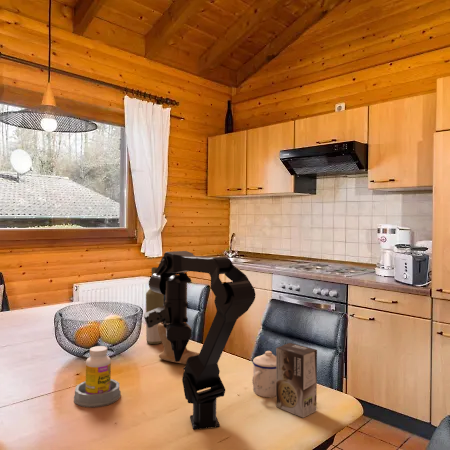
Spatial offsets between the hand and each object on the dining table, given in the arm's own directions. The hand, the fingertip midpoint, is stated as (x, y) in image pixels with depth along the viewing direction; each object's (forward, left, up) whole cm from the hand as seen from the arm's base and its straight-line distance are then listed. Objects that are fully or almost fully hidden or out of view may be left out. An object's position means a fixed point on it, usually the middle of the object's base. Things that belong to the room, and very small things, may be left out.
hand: (175, 355), depth 113 cm
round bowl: (+8, +21, -13) cm, 26 cm away
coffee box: (-9, -31, -13) cm, 35 cm away
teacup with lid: (+2, -26, -13) cm, 29 cm away
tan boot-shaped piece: (+33, -4, -13) cm, 36 cm away
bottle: (+56, +3, -13) cm, 58 cm away
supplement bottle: (+8, +21, -12) cm, 25 cm away
